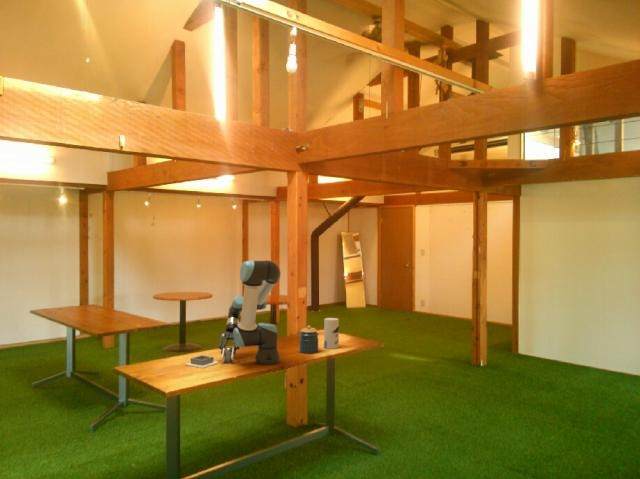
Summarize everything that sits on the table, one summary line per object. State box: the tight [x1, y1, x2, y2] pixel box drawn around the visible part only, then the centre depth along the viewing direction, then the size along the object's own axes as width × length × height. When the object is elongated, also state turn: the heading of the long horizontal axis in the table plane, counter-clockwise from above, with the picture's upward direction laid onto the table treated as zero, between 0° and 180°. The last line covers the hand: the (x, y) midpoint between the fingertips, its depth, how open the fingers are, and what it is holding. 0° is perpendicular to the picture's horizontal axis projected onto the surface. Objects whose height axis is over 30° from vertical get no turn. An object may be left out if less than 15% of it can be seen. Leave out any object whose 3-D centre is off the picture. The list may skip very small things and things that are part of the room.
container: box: [323, 317, 340, 350], centre depth 333 cm, size 10×10×20 cm
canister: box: [298, 324, 319, 355], centre depth 320 cm, size 13×13×18 cm
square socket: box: [184, 354, 220, 369], centre depth 286 cm, size 14×14×4 cm
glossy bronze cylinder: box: [223, 346, 234, 365], centre depth 290 cm, size 5×5×9 cm
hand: (227, 358), depth 286 cm, fingers closed on glossy bronze cylinder, 5 cm apart
